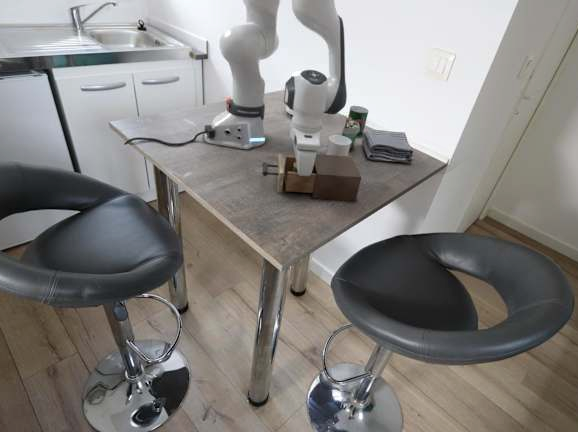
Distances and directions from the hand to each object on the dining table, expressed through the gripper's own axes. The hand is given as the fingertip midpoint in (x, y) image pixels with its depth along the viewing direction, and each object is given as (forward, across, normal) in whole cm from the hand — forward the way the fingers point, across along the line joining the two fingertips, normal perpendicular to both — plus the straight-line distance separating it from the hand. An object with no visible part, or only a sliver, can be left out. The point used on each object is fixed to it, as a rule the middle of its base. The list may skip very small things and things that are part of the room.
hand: (299, 174), depth 108 cm
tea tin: (+2, 0, 0) cm, 2 cm away
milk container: (+4, -64, +8) cm, 65 cm away
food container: (+4, -32, +23) cm, 40 cm away
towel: (+4, -29, +38) cm, 48 cm away
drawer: (+3, 0, -3) cm, 4 cm away
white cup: (+4, -16, +15) cm, 22 cm away
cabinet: (+4, 0, +11) cm, 12 cm away
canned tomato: (+4, -48, +29) cm, 56 cm away
